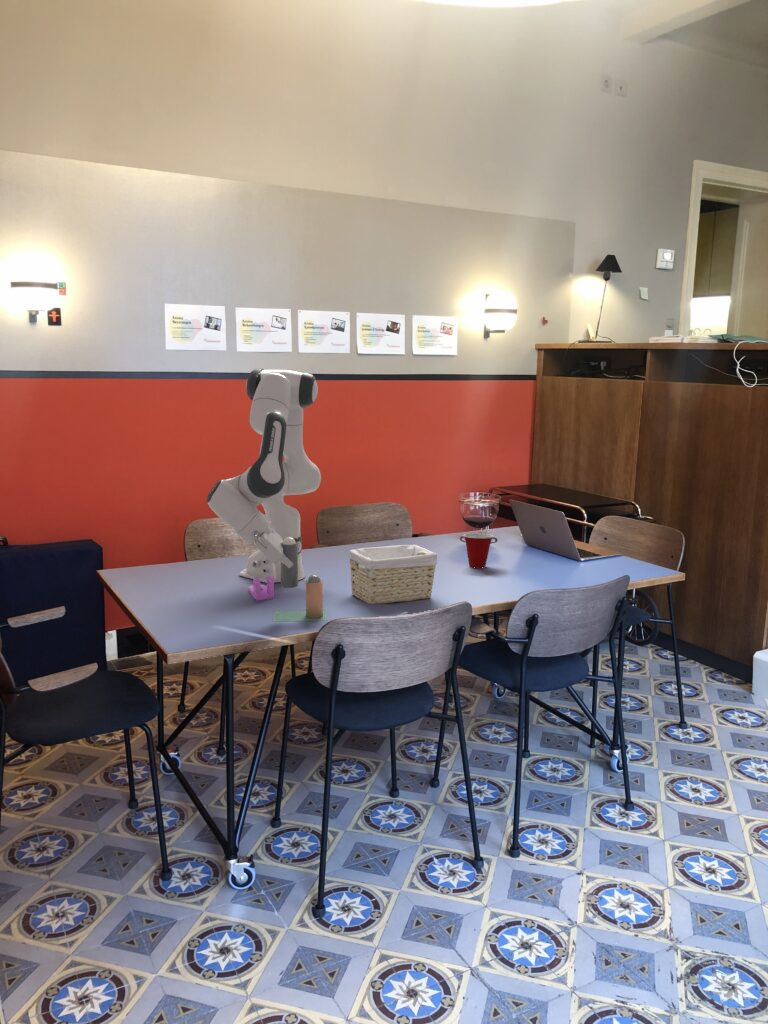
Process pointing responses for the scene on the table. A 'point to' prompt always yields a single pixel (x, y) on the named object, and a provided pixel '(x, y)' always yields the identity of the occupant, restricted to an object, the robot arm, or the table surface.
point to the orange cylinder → (314, 597)
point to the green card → (296, 616)
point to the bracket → (262, 589)
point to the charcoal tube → (291, 552)
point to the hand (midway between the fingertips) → (291, 563)
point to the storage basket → (392, 573)
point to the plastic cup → (477, 548)
